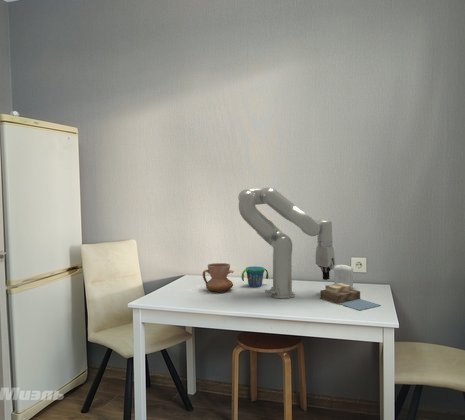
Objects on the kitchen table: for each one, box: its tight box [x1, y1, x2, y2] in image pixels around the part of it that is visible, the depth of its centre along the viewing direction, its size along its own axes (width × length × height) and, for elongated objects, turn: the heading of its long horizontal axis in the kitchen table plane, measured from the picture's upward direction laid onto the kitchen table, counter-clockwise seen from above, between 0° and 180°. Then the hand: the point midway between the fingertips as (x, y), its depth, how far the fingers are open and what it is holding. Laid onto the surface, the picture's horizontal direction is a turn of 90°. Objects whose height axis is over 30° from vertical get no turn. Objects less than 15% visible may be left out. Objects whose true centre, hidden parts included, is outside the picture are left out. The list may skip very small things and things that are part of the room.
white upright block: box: [333, 264, 354, 289], centre depth 236 cm, size 10×4×12 cm, turn 52°
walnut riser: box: [319, 288, 361, 305], centre depth 214 cm, size 15×12×4 cm
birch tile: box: [324, 283, 350, 293], centre depth 215 cm, size 10×7×2 cm
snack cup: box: [241, 265, 269, 288], centre depth 243 cm, size 16×10×10 cm
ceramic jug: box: [202, 262, 235, 293], centre depth 234 cm, size 18×14×14 cm
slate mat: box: [338, 298, 382, 311], centre depth 203 cm, size 14×13×1 cm
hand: (326, 279), depth 223 cm, fingers closed
